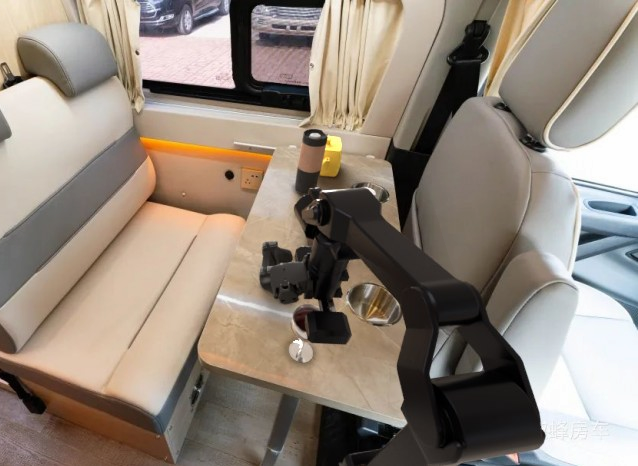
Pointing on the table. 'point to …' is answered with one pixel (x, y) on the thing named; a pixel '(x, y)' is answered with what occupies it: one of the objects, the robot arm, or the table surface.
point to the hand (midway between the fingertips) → (311, 318)
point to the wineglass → (301, 334)
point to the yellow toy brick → (331, 157)
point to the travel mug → (310, 159)
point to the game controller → (272, 262)
